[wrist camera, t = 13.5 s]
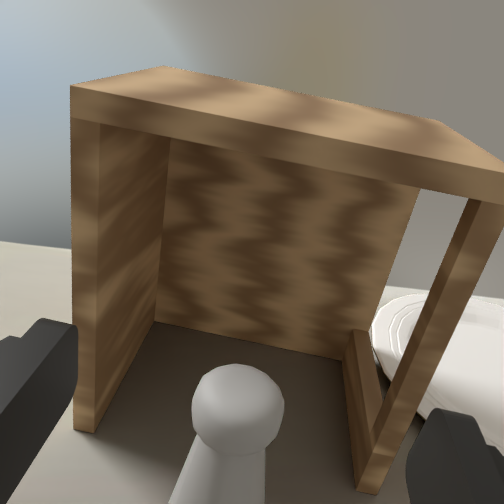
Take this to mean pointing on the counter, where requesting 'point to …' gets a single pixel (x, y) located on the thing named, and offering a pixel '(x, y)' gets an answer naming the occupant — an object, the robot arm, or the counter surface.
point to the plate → (453, 361)
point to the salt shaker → (230, 437)
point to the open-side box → (264, 233)
